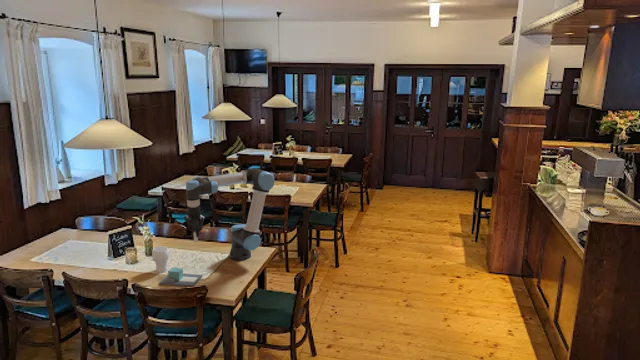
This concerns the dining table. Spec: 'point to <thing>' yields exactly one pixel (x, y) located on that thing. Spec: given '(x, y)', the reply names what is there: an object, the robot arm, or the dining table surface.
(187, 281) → the header board
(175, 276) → the plug block
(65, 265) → the dining table surface
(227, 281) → the dining table surface
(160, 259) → the cup
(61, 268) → the dining table surface
